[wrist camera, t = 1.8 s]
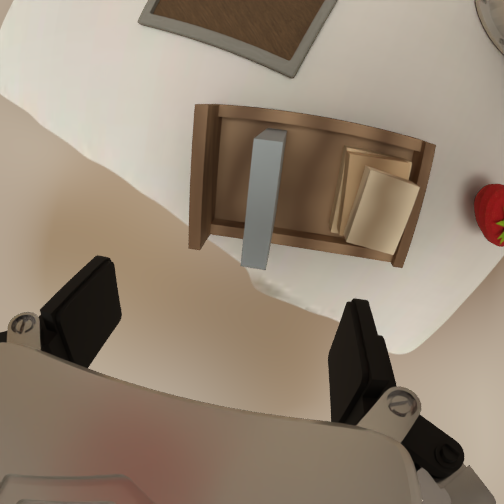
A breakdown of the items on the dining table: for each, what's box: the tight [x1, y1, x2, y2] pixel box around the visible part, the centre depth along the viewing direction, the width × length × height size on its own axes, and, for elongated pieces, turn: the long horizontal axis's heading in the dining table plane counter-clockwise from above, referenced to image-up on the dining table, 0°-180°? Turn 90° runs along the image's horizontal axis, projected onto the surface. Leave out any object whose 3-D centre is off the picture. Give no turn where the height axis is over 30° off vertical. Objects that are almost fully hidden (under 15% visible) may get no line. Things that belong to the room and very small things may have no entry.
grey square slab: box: [241, 128, 287, 270], centre depth 27 cm, size 2×10×11 cm, turn 174°
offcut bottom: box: [329, 145, 412, 234], centre depth 30 cm, size 7×9×2 cm
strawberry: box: [474, 184, 504, 247], centre depth 26 cm, size 6×8×10 cm
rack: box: [189, 104, 436, 268], centre depth 30 cm, size 23×14×7 cm, turn 84°
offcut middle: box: [337, 151, 410, 236], centre depth 28 cm, size 6×8×2 cm
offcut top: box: [343, 166, 420, 255], centre depth 27 cm, size 5×7×2 cm
